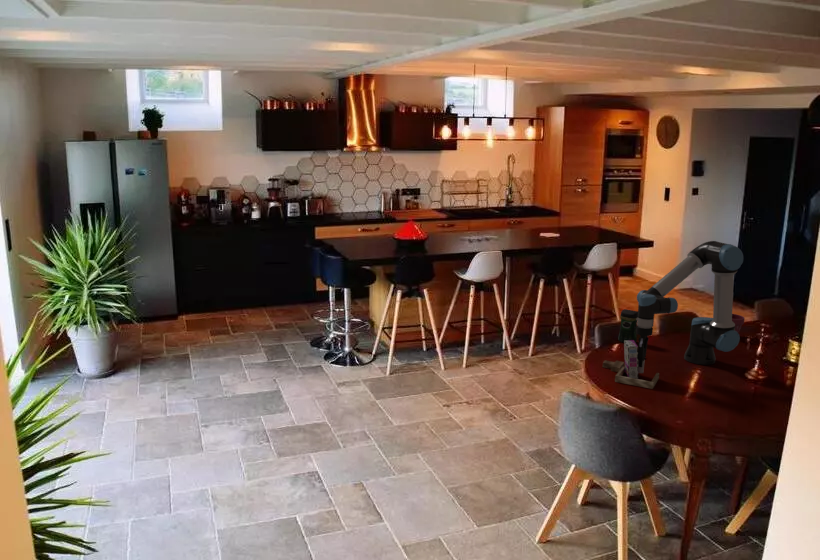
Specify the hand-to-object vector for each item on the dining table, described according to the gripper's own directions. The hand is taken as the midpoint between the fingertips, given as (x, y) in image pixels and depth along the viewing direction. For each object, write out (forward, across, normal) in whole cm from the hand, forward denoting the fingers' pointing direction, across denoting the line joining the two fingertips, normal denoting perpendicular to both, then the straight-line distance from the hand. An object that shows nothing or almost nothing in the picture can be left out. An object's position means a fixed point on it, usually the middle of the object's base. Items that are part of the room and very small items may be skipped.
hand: (640, 372), depth 336 cm
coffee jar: (+2, -54, -18) cm, 57 cm away
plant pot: (+2, -97, +31) cm, 102 cm away
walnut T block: (+2, -5, -14) cm, 15 cm away
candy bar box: (+2, +1, -4) cm, 4 cm away
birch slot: (+2, +6, 0) cm, 6 cm away
